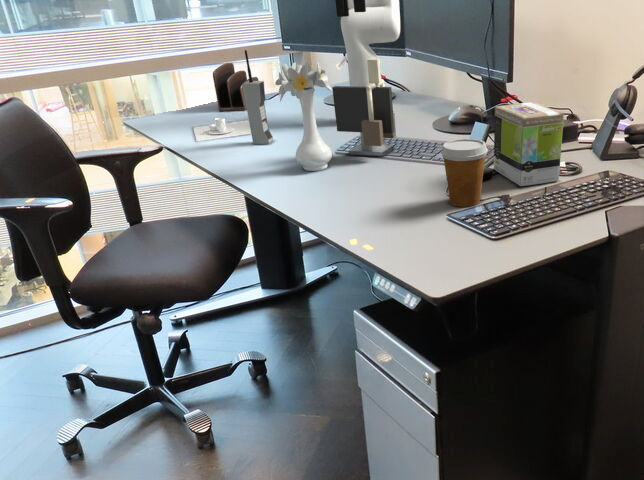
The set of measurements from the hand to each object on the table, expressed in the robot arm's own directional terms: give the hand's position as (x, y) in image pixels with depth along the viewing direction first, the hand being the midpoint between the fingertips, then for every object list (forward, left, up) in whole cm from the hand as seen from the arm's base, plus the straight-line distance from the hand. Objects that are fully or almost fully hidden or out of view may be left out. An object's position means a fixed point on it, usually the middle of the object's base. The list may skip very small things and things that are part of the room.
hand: (351, 14), depth 168 cm
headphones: (+12, +11, -28) cm, 33 cm away
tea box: (+21, +52, -32) cm, 65 cm away
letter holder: (-40, -70, -32) cm, 87 cm away
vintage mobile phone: (+6, -30, -32) cm, 45 cm away
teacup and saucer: (-6, -52, -32) cm, 62 cm away
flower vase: (+25, -2, -32) cm, 41 cm away
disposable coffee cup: (+41, +44, -32) cm, 68 cm away
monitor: (+10, +7, -32) cm, 34 cm away
